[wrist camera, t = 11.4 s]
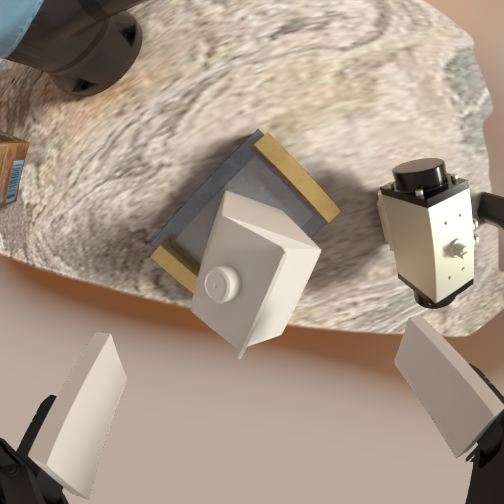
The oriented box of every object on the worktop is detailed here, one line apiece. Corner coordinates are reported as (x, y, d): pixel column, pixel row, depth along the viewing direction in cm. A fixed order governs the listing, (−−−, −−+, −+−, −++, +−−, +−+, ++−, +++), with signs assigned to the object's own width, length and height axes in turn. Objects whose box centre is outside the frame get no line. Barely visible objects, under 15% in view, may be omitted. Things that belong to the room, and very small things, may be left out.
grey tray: (160, 233, 37) (143, 251, 30) (254, 133, 34) (261, 125, 26) (250, 310, 42) (254, 340, 35) (340, 224, 39) (364, 240, 31)
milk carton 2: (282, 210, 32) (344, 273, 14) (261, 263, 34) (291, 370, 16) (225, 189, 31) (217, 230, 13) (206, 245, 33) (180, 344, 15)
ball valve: (417, 253, 41) (486, 297, 25) (379, 273, 42) (443, 329, 25) (396, 152, 36) (481, 159, 19) (352, 168, 36) (432, 179, 19)
